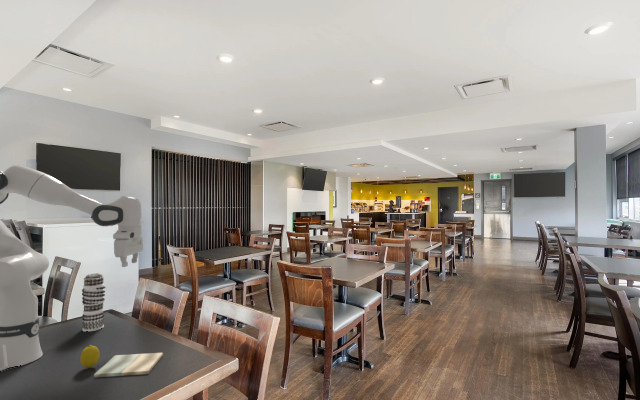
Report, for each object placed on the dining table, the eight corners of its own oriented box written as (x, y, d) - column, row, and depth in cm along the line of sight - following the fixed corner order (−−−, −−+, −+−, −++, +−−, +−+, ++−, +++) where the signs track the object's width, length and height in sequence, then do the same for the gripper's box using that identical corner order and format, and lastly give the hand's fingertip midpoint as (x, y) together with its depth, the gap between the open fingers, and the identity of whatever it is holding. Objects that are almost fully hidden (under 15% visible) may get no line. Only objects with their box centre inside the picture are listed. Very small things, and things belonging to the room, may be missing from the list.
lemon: (89, 372, 112) (89, 349, 112) (76, 371, 113) (76, 347, 113) (103, 365, 117) (103, 342, 117) (90, 363, 118) (90, 341, 118)
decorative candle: (103, 323, 159) (104, 271, 160) (106, 328, 152) (106, 274, 153) (80, 327, 154) (81, 274, 154) (82, 333, 146) (82, 277, 147)
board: (94, 377, 108) (94, 374, 109) (115, 358, 122) (115, 355, 122) (148, 373, 111) (148, 370, 111) (162, 355, 125) (162, 352, 125)
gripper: (132, 231, 154) (132, 260, 154) (110, 235, 134) (110, 269, 134) (146, 231, 155) (146, 260, 155) (127, 235, 135) (127, 268, 134)
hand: (129, 264), depth 144 cm, fingers open, 8 cm apart
